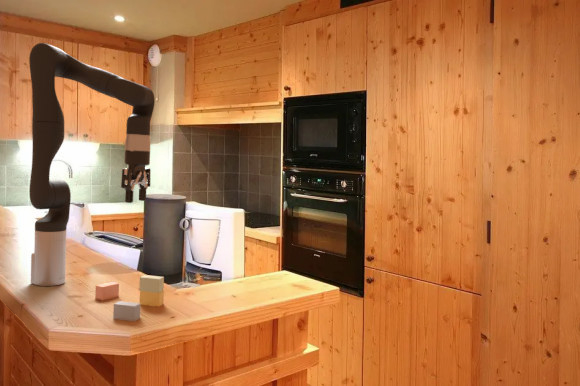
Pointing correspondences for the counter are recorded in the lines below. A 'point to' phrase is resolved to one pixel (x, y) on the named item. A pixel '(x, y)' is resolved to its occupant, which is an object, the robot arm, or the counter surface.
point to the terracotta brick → (107, 290)
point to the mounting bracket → (190, 285)
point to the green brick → (151, 283)
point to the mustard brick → (151, 298)
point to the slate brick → (126, 311)
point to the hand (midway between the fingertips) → (135, 201)
